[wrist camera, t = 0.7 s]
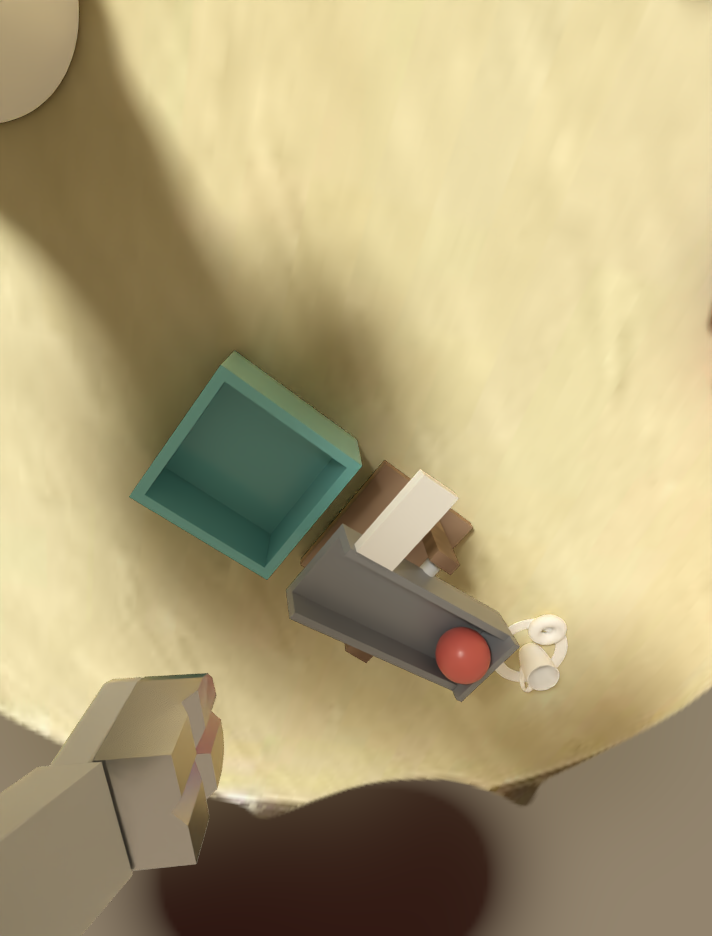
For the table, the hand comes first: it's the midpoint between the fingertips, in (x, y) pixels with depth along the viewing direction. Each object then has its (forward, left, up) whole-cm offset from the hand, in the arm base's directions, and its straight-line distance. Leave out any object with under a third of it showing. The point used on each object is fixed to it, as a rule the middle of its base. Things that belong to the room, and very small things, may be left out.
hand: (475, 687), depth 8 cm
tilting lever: (+13, -9, -27) cm, 31 cm away
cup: (-1, -12, -35) cm, 37 cm away
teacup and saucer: (+35, -11, -36) cm, 51 cm away
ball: (+19, -12, -24) cm, 33 cm away
